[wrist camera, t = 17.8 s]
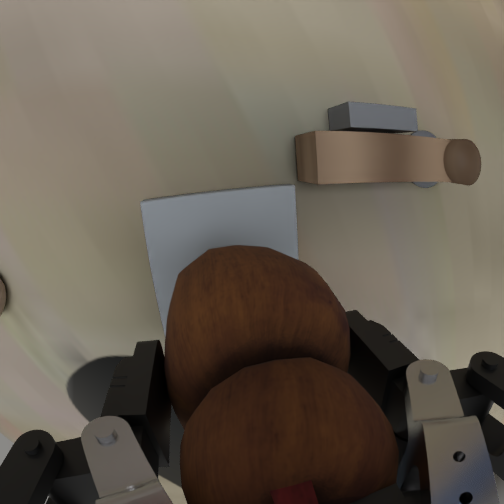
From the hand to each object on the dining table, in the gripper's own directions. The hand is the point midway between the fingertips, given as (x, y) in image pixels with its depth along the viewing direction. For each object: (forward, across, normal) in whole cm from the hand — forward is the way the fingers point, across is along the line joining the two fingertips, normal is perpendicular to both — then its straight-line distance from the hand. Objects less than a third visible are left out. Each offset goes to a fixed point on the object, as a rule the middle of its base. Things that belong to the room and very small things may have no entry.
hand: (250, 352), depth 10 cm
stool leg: (+10, -11, -6) cm, 16 cm away
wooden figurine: (+5, 0, 0) cm, 5 cm away
